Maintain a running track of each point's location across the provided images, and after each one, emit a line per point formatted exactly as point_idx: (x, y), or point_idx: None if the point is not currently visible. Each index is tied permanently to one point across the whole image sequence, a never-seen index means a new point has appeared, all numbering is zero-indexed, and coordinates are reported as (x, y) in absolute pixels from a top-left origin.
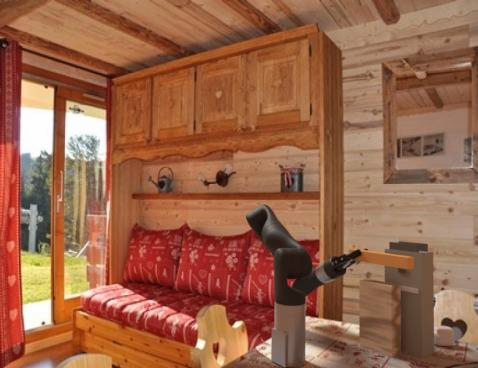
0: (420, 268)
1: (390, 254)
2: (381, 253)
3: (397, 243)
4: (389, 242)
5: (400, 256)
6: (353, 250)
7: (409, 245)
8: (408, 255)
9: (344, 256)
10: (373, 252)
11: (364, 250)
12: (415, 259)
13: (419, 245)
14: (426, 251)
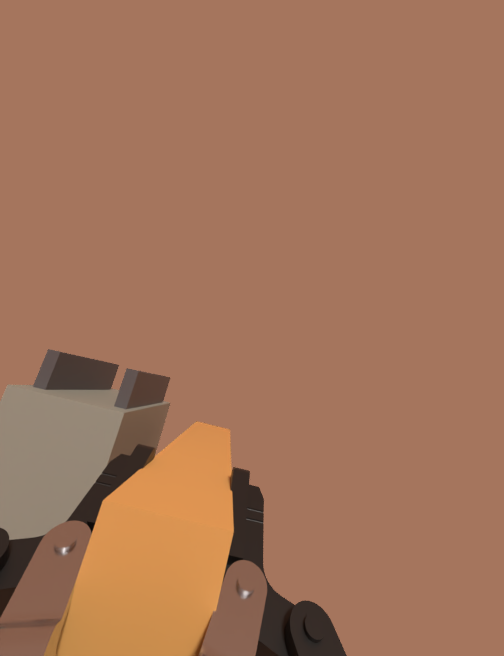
0: (155, 451)
1: (207, 434)
2: (212, 442)
3: (150, 377)
4: (138, 374)
5: (223, 431)
6: (231, 509)
7: (162, 382)
8: (156, 418)
9: (323, 641)
10: (215, 452)
11: (173, 465)
12: (159, 426)
13: (106, 370)
14: (110, 389)
